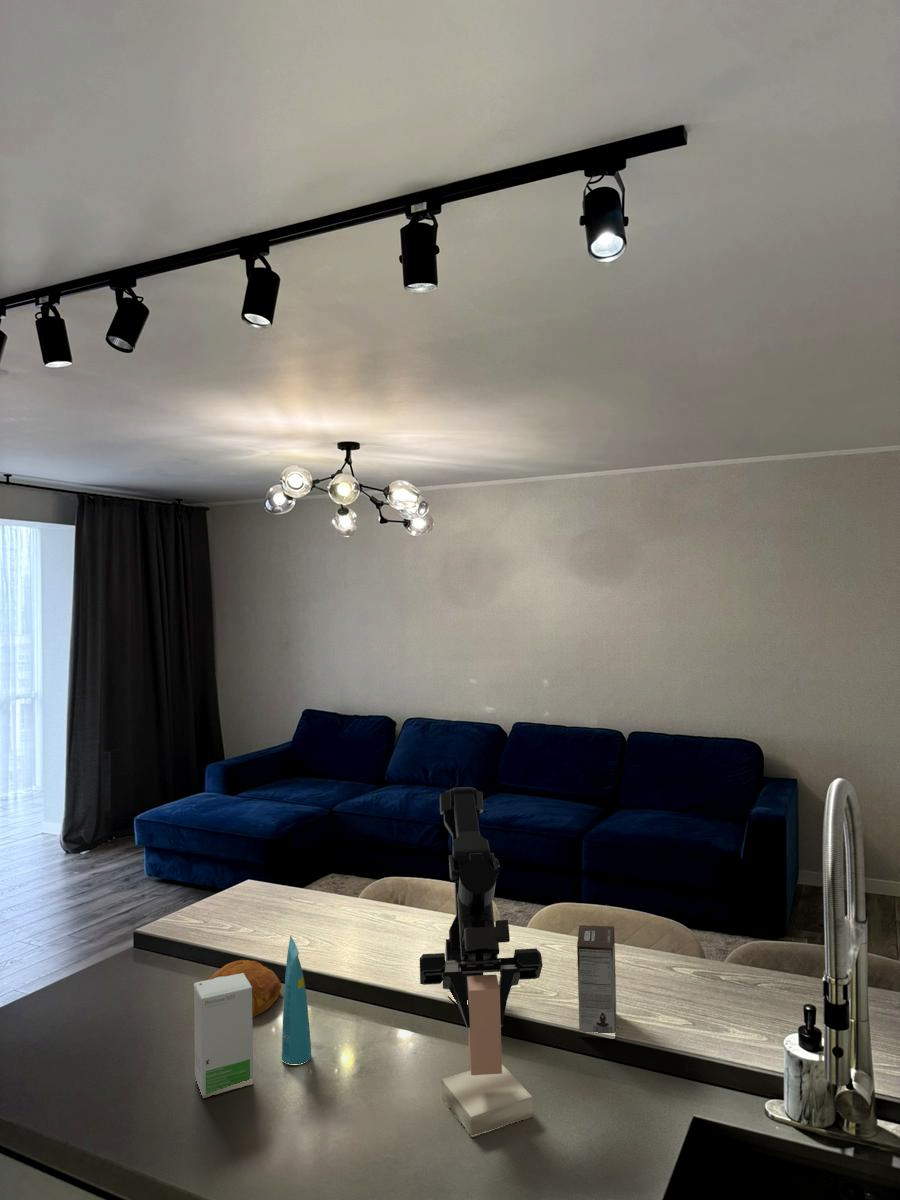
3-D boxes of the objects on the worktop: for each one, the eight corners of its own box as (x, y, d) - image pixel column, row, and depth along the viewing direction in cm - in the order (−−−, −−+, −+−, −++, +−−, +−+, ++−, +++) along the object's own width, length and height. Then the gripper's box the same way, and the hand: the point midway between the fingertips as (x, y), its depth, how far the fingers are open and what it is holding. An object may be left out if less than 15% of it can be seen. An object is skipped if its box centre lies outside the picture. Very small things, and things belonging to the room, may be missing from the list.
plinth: (442, 1098, 123) (441, 1079, 123) (499, 1080, 127) (499, 1061, 127) (471, 1138, 114) (470, 1117, 114) (532, 1116, 118) (532, 1096, 118)
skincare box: (201, 1101, 124) (198, 1000, 124) (193, 1078, 130) (190, 982, 129) (256, 1084, 128) (253, 986, 127) (246, 1063, 133) (243, 969, 133)
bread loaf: (186, 1027, 150) (180, 987, 149) (238, 977, 164) (232, 941, 163) (251, 1039, 144) (245, 998, 143) (298, 987, 158) (293, 949, 157)
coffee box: (580, 1011, 147) (578, 923, 147) (616, 1013, 146) (614, 925, 146) (578, 1038, 138) (576, 945, 138) (616, 1041, 137) (614, 947, 137)
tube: (317, 1065, 132) (313, 949, 132) (287, 1074, 130) (284, 955, 130) (304, 1043, 139) (301, 932, 139) (276, 1051, 137) (273, 938, 137)
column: (469, 1057, 122) (466, 975, 122) (498, 1055, 123) (496, 974, 123) (471, 1075, 118) (469, 990, 118) (501, 1073, 118) (499, 989, 118)
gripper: (418, 902, 123) (421, 1011, 113) (538, 897, 124) (553, 1004, 114) (418, 931, 131) (421, 1036, 121) (532, 926, 132) (545, 1029, 122)
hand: (484, 1026), depth 119 cm, fingers closed on column, 4 cm apart
